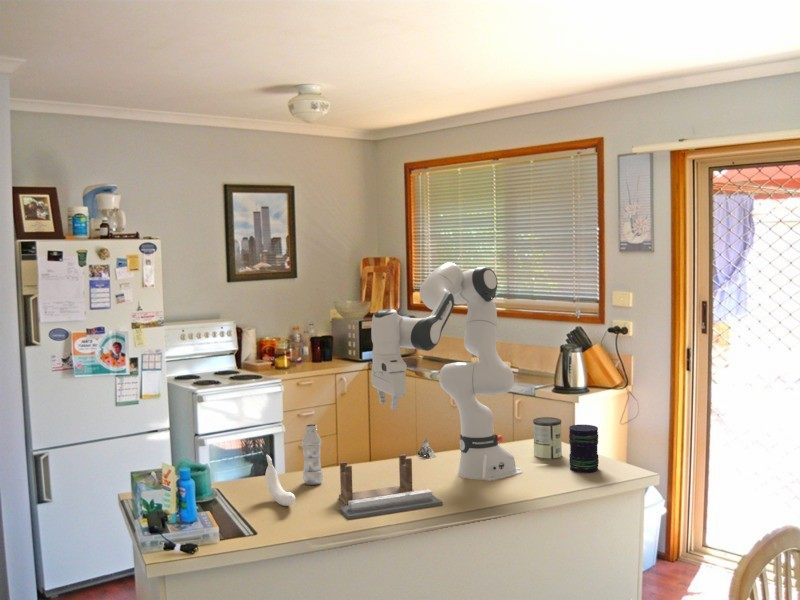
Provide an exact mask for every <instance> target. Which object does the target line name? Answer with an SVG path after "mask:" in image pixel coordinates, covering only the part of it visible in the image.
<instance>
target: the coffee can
mask: <svg viewBox="0 0 800 600" xmlns="http://www.w3.org/2000/svg"><path fill="white" fill-rule="evenodd" d="M532 423H533V456H534V458H537V459H540V460H541V459H542V460H549V461H550V460H557V459H561V458H562V457H563V455H562V454H563V453H562V451H563V450H562V419H560V418H558V417H554V416H553V417H549V416H543V417H535V418H533V420H532Z"/></svg>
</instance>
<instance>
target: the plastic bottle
mask: <svg viewBox="0 0 800 600" xmlns="http://www.w3.org/2000/svg"><path fill="white" fill-rule="evenodd" d="M304 431H305V434H304V435H303V436H302V439H301V447H302V451H303V472H302V481H303V483H304V484H305V485H308V486H316V485H320V484H322V482H323V479H324V478H323V476H324V475H323V470H322V464H321V448H322V439H321V436H320V435H319V434H318V432H317V431H318V427H317V424H313V423H310V424H306V425H305V430H304Z"/></svg>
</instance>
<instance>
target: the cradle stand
mask: <svg viewBox="0 0 800 600" xmlns="http://www.w3.org/2000/svg"><path fill="white" fill-rule="evenodd" d="M398 460H399V461H398V462H399V463H398V464H399V467H398V468H399V471H398V472H399V485H396V486H389V487H383V488H382V487H381V488H375V489H368V490H362V491H354V492H353V467H352V465H348V462H347V461H341V462H339V475H340V477H339V478H340V479H339V480H340V493H339V494H338V499H339V501H341V502H342V503H343V504H345V505H348V501H350V500H357V499H364V498H371V497H378V496H385V495H391V494H398V493H405V492H412V491H415V489H413V466H412V465H413V459H412V458H411V457H407V454H399V455H398Z"/></svg>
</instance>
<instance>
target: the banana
mask: <svg viewBox="0 0 800 600" xmlns="http://www.w3.org/2000/svg"><path fill="white" fill-rule="evenodd" d="M265 458H266V462H267V464H268V465H267V468H266V471H265V482H266V483H265V484H266V486H267V490H268V492H269V493H270V496H271V497H272V499H273V500H274V501H275V502H276V503H277V504H279V505H281V506H284V507H288V506H291V505H293V504H294V503H295V501H296V495H295V494H294V493H293V492H291V491H286V490H285V489H284V488H283V486H282V485H281V482H280V479H279V476H278V472H277V470H276V467H274V465H273V460H272V458H271V456H270V455H269V454H266V455H265Z"/></svg>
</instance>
